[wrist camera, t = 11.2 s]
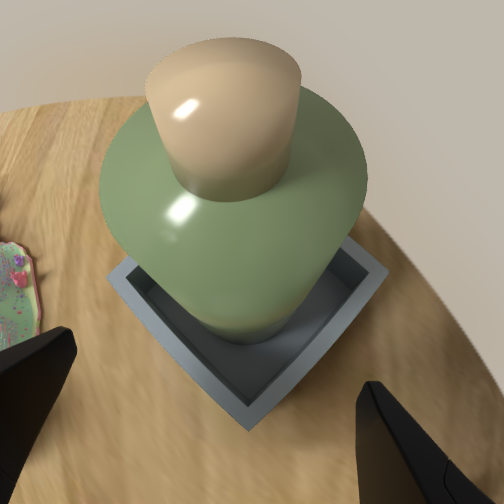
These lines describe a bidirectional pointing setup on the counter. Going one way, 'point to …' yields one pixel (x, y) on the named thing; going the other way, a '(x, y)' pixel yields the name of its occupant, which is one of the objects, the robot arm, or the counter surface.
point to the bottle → (233, 185)
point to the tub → (263, 354)
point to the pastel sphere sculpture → (17, 296)
